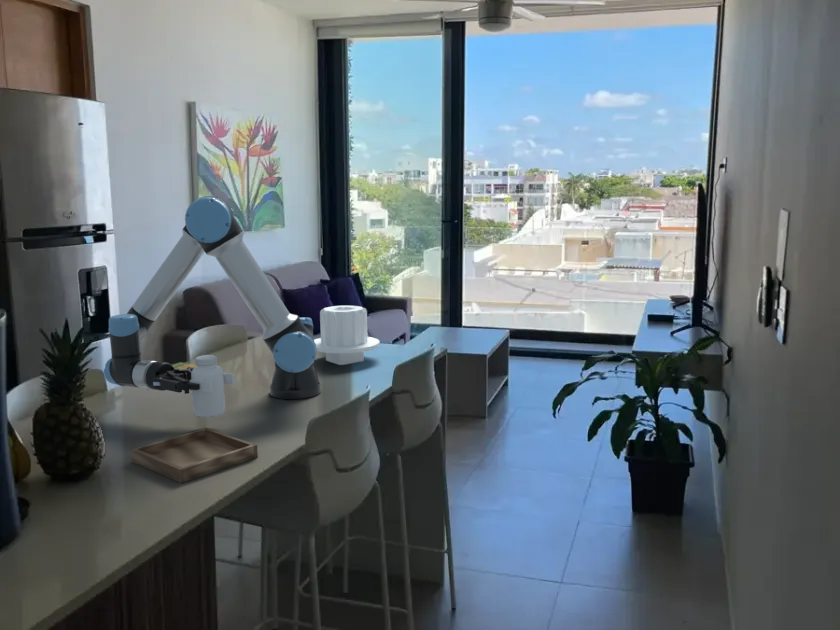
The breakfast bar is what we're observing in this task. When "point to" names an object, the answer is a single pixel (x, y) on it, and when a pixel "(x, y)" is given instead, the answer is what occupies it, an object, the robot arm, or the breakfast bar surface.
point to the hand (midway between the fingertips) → (222, 383)
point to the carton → (183, 366)
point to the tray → (194, 454)
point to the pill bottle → (212, 401)
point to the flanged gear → (344, 334)
